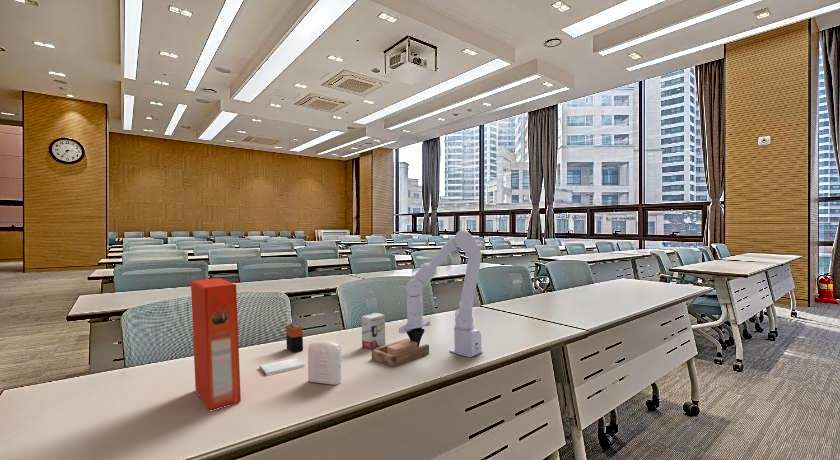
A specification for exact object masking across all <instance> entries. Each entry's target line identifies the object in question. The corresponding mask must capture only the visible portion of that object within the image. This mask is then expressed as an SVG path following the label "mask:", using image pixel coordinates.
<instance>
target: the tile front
mask: <svg viewBox="0 0 840 460" xmlns="http://www.w3.org/2000/svg"><path fill="white" fill-rule="evenodd" d="M405 351H407V346H405V345H402V344H398V343H397V344H394V345H391V346H388V347H387V353H388V354H391V355H397V354H399V353H402V352H405Z"/></svg>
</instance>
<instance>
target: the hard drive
mask: <svg viewBox="0 0 840 460" xmlns="http://www.w3.org/2000/svg"><path fill="white" fill-rule="evenodd" d="M305 367H306V366H305V363H304V362H303V361H301V359H299V358H298V357H293V358H289V359H286V360H279V361H275V362H271V363H270V362H269V363H266V364H262V365H259V369H260V368H261V369H260V371H261V370H262V371H263V372H264V373H265V374H266V375H268V376H270V375H269V374H272V375H275V374H274V373H276V374H279V373H278V372H281V373H284V372H283V371H285V372H289V371H292V370H298V369H302V368H305ZM297 368H298V369H297ZM288 370H289V371H288ZM262 371H261V372H262ZM263 372H262V373H263ZM264 373H263V374H264ZM265 374H264V375H265ZM266 375H265V376H266Z"/></svg>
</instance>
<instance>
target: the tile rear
mask: <svg viewBox="0 0 840 460" xmlns="http://www.w3.org/2000/svg"><path fill="white" fill-rule="evenodd" d="M398 344H402V345H405V346H407V351H408V350H411V349H414V348H417V342H413V341H410V339H409V340H406V341H403V342H399V343H398Z"/></svg>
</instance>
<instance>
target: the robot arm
mask: <svg viewBox="0 0 840 460" xmlns="http://www.w3.org/2000/svg"><path fill="white" fill-rule="evenodd" d="M458 249H460V250H462V251H463V252H464V253H465V255H466V256H467V258H468V259H467V265H466V271H465V275H464V281H463V286H462V292H461V295H460V296H461V297H460V301H459V306H458V308H457V309H456V310H455V314H454V315H455V319H454V323H455V324H454V326H453V331H454V332H453V333H454V334H453V337H454V338H453V341H454V348H451V349H449V352H450V353H453V354H457V355H459V356H460V355H461V356H464V357H468V358H471V357H472V358H473V357H474V356H476V355H479V354H481V353H483V352H484V351H483V350H482V333H481V331H480V330H478V329H476V328H475V325H474V324H473V323H474V317H473V306H474V301H475V296H476V295H475V294H476V290H477V289H476V288H477V284H478V279H479V273H480V267H481V261H482V252H481V250H480V247H479V245H478V243H477V241H476V239H475V238H474V236H473V235H472V234H471V233H470V232H469V231H468V230H464V229H463V230H459V231H457V232H456V233H455V235H454V236H452V237H451V238H449V240H447V241H446V242H445V243H444V245H442V247H441V248H440V249H439V251H438V252H437V253H436V255H435V256H434V257H433V258H432V260H431V261H430V262H423V264H420V265H419V266H418V267H419V269H418V270H417V272H415V273H414V274H412V275H411V279H409V281H407V283H406V285H405V292H406V322H405V324H403V325H401V326H399V327H398V333H399V334H402V335H403V334H405V333H406V335H407V336H408V339H409V340H410V341H413V342H417V347H420V344H421V339H422V337H423V335H424V334H425V328H424V327H427V326H428V327H429V326H431V320H430V319H424V318H423V316H424V315H423V313H424V312H423V296H422V292H423V289H424V287H426V286H427V285H428V284H429V283H430V282H431V281H432V279H433V278H434V277H436V274H437V268H438V266H439V265H441V264H442V262H443V261H444V260H445V259H446V258H447V257H448V255H450V253H452V252H455V251H458ZM423 319H424V320H423Z"/></svg>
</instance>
